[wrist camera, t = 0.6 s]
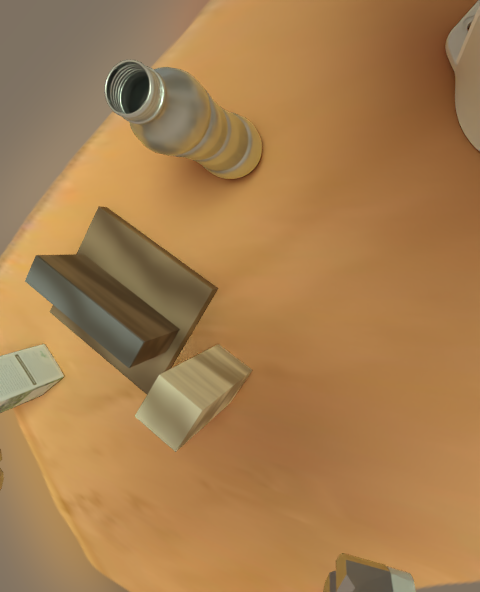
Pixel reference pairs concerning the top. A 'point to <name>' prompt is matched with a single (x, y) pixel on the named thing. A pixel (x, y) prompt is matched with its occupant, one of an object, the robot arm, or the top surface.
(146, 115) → the plastic bottle
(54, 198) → the top surface
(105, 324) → the ridge
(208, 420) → the ash post
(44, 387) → the syrup box
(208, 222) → the top surface
